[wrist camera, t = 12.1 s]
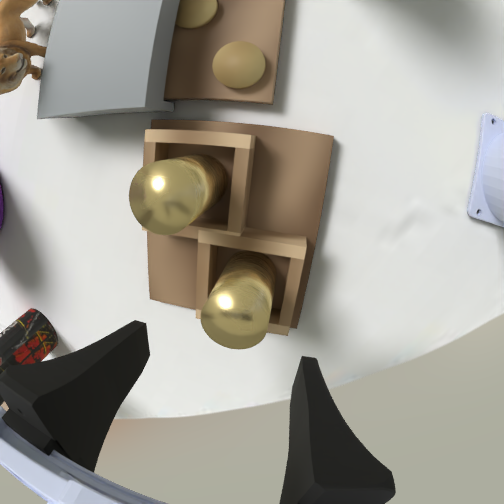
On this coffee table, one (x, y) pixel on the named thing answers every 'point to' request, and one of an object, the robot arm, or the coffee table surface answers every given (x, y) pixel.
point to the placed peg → (176, 192)
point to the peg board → (243, 211)
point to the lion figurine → (17, 44)
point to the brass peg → (241, 301)
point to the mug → (1, 207)
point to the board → (225, 50)
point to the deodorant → (26, 341)
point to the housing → (107, 58)
